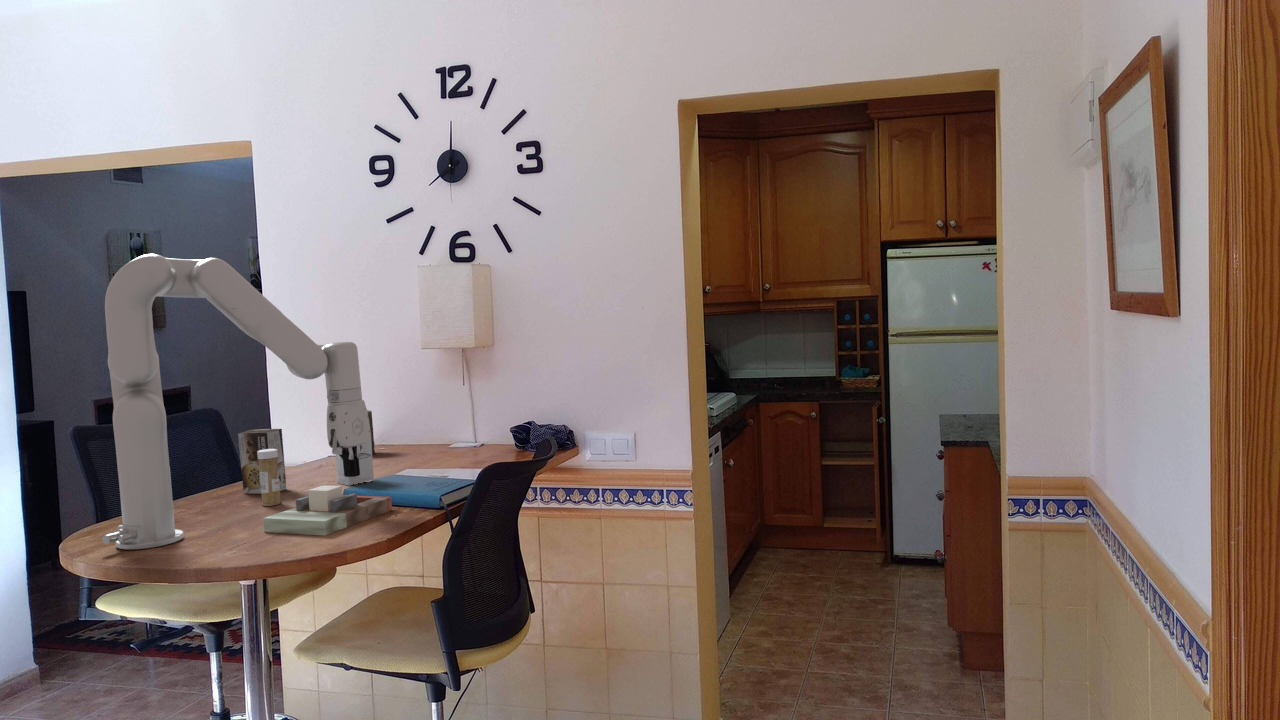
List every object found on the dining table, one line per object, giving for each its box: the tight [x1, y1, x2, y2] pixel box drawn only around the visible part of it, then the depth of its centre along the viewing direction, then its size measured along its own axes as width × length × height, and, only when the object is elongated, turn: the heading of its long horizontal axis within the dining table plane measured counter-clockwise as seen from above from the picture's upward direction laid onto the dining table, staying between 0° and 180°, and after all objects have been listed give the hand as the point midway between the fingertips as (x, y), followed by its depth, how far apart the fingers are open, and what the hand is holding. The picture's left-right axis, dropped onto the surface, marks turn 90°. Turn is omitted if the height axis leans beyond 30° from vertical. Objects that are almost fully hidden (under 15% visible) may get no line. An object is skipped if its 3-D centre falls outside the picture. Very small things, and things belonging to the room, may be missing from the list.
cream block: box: [307, 485, 343, 511], centre depth 208 cm, size 5×5×4 cm
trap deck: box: [262, 493, 393, 536], centre depth 209 cm, size 23×16×6 cm
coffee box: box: [237, 428, 287, 495], centre depth 246 cm, size 9×6×16 cm
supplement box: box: [335, 439, 375, 487], centre depth 253 cm, size 7×7×13 cm
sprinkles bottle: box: [257, 449, 282, 507], centre depth 229 cm, size 5×5×13 cm
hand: (352, 475), depth 216 cm, fingers closed
